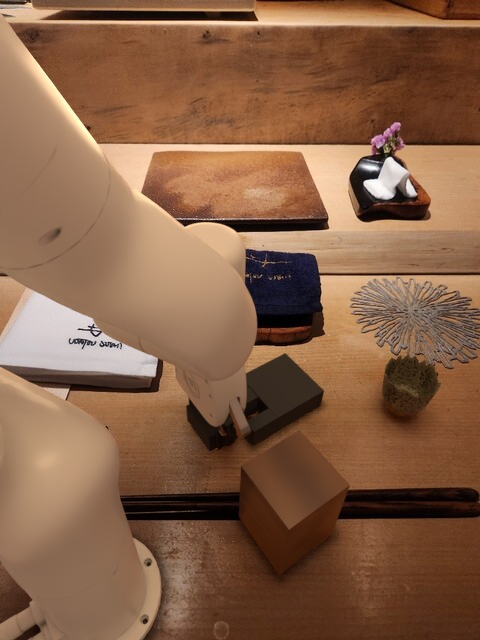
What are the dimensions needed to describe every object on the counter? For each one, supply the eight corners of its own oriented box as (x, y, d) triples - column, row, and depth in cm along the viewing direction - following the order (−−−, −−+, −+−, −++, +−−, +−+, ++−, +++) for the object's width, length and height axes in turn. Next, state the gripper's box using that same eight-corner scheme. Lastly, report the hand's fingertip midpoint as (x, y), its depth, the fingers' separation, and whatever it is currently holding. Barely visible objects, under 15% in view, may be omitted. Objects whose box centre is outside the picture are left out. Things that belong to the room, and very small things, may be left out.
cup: (426, 434, 65) (444, 400, 60) (373, 425, 66) (386, 390, 61) (421, 394, 71) (438, 358, 65) (373, 386, 72) (385, 350, 66)
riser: (278, 575, 51) (288, 529, 43) (238, 517, 56) (240, 465, 48) (331, 534, 55) (350, 485, 47) (289, 482, 60) (299, 429, 51)
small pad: (209, 452, 61) (209, 437, 58) (187, 420, 64) (185, 405, 62) (264, 420, 65) (265, 405, 62) (240, 392, 68) (240, 377, 66)
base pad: (252, 446, 63) (253, 431, 61) (217, 402, 69) (217, 387, 66) (320, 405, 69) (324, 390, 66) (283, 367, 74) (285, 352, 72)
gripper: (144, 301, 54) (159, 395, 67) (223, 399, 44) (224, 489, 56) (198, 280, 58) (204, 373, 70) (284, 366, 47) (273, 458, 60)
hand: (213, 424), depth 63 cm, fingers closed on small pad, 6 cm apart
